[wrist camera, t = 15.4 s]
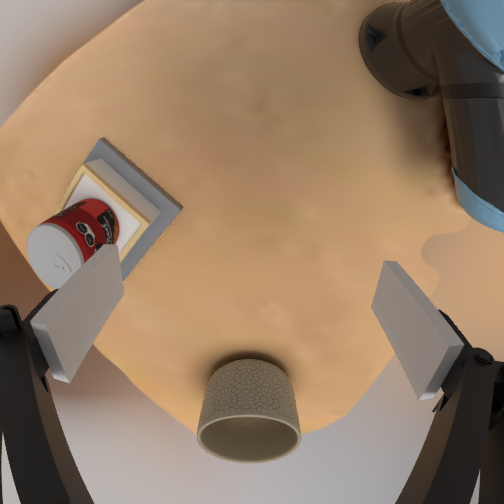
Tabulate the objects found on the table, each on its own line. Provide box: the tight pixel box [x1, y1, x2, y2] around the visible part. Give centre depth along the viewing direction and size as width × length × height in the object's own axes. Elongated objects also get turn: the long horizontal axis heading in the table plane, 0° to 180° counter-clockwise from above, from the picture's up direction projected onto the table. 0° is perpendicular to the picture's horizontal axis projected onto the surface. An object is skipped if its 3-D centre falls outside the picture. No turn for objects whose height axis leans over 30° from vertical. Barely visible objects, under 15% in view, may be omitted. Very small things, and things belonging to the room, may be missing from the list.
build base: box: [53, 138, 183, 281], centre depth 39 cm, size 16×16×7 cm
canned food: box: [27, 199, 119, 289], centre depth 32 cm, size 8×8×11 cm
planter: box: [197, 359, 301, 463], centre depth 49 cm, size 17×17×15 cm
